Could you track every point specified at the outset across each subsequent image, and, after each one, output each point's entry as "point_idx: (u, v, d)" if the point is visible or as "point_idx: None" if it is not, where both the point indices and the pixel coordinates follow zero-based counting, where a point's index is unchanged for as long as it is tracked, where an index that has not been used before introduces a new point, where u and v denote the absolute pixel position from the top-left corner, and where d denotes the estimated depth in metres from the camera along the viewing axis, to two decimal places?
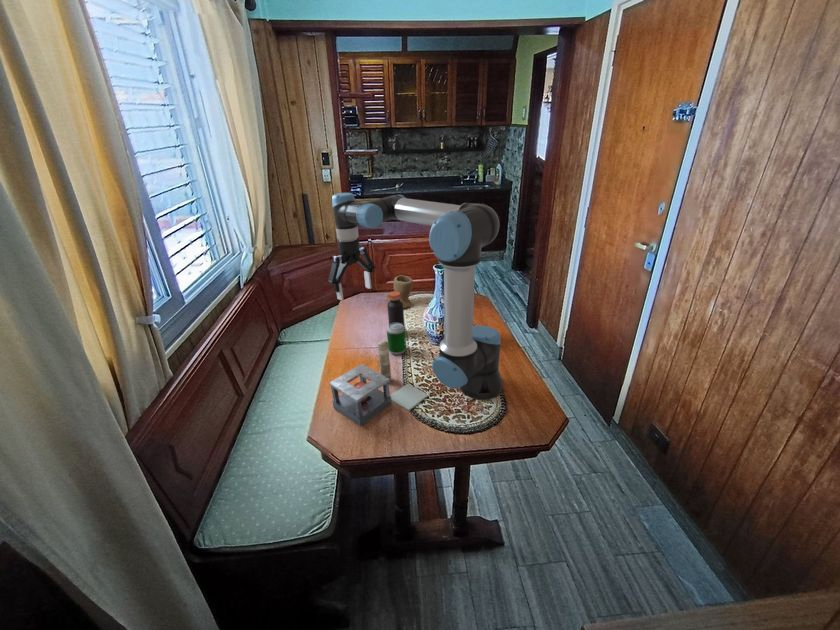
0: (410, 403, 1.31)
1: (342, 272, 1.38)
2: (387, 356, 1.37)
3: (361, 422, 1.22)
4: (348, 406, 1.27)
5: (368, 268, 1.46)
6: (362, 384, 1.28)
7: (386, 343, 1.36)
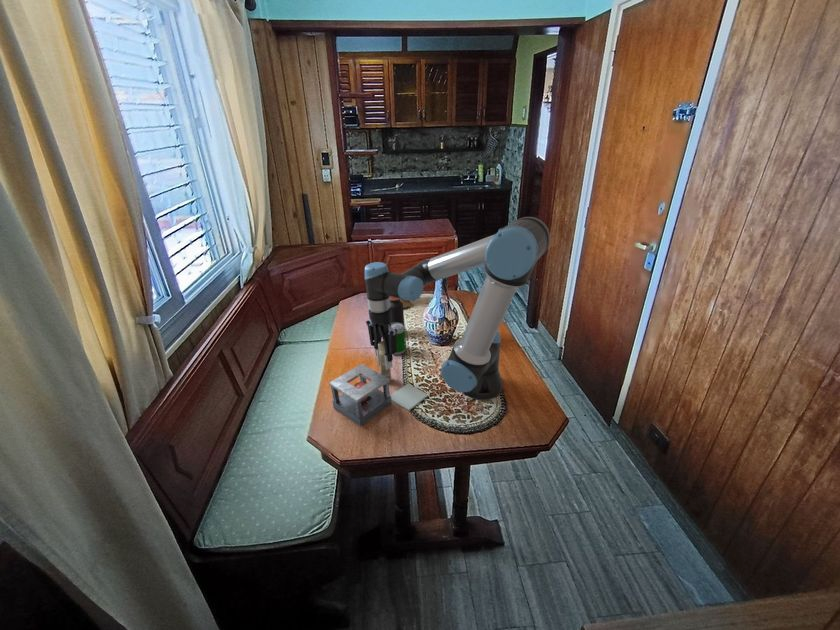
0: (410, 403, 1.31)
1: (375, 338, 1.36)
2: None
3: (361, 422, 1.22)
4: (348, 406, 1.27)
5: (386, 349, 1.34)
6: (362, 384, 1.28)
7: None
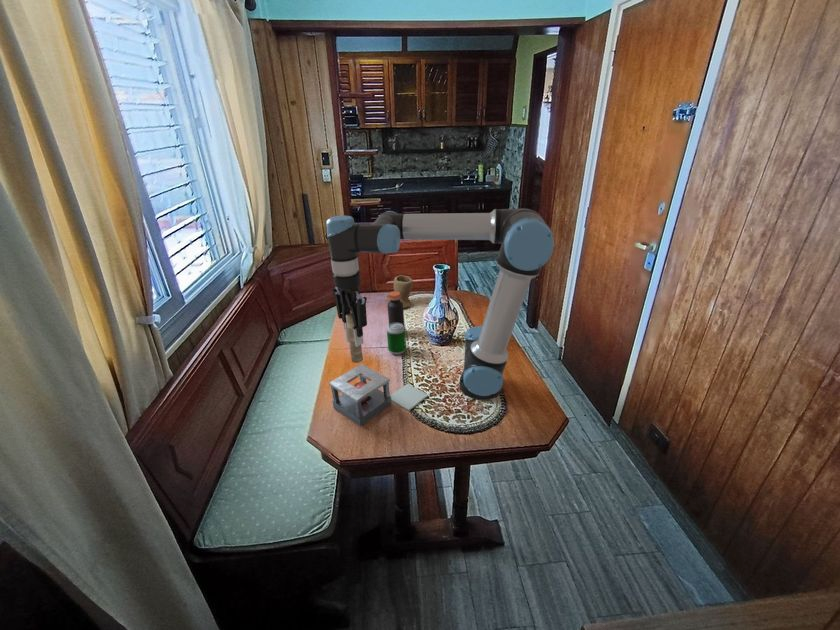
0: (410, 403, 1.31)
1: (342, 309, 1.16)
2: None
3: (361, 422, 1.22)
4: (348, 406, 1.27)
5: (354, 322, 1.14)
6: (362, 384, 1.28)
7: None
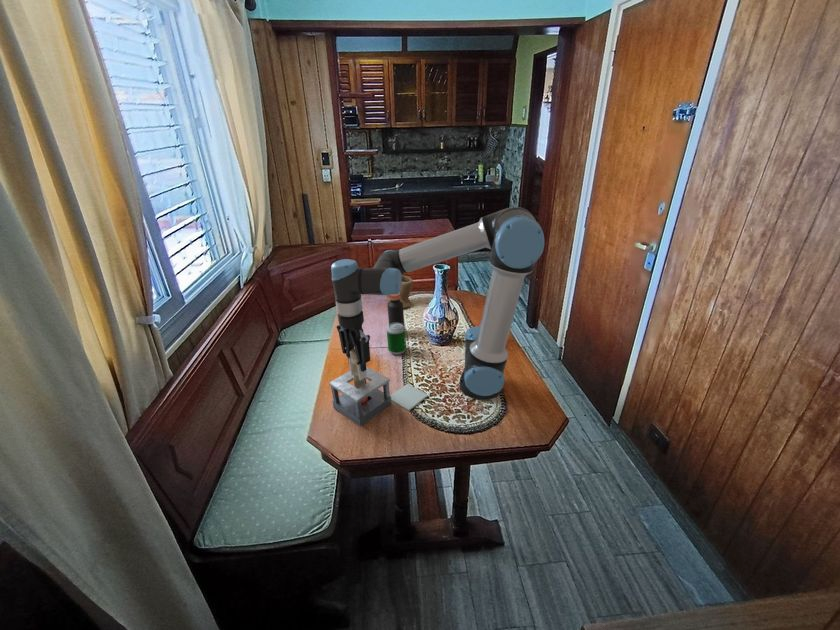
0: (410, 403, 1.31)
1: (347, 345, 1.21)
2: None
3: (361, 422, 1.22)
4: (348, 406, 1.27)
5: (358, 358, 1.19)
6: None
7: None
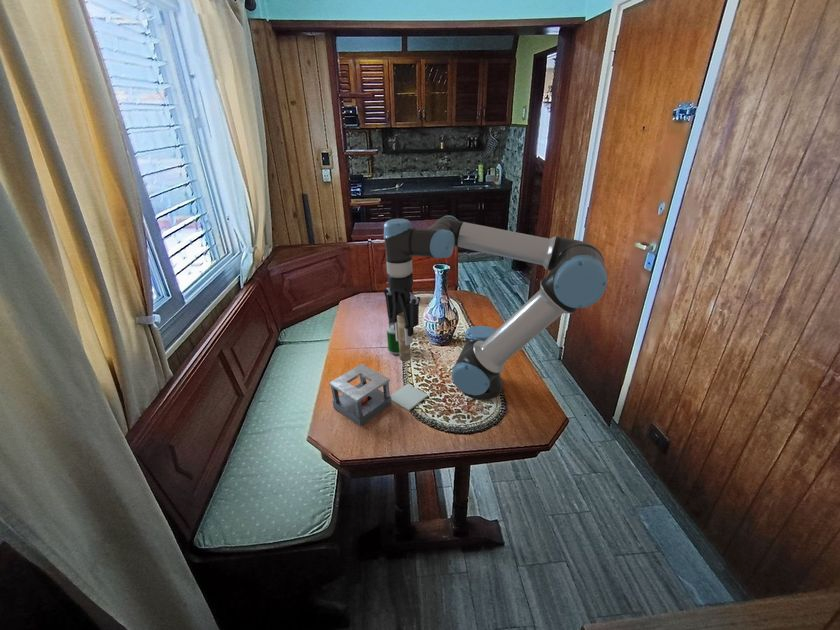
0: (410, 403, 1.31)
1: (394, 309, 1.20)
2: None
3: (361, 422, 1.22)
4: (348, 406, 1.27)
5: (406, 321, 1.18)
6: None
7: None
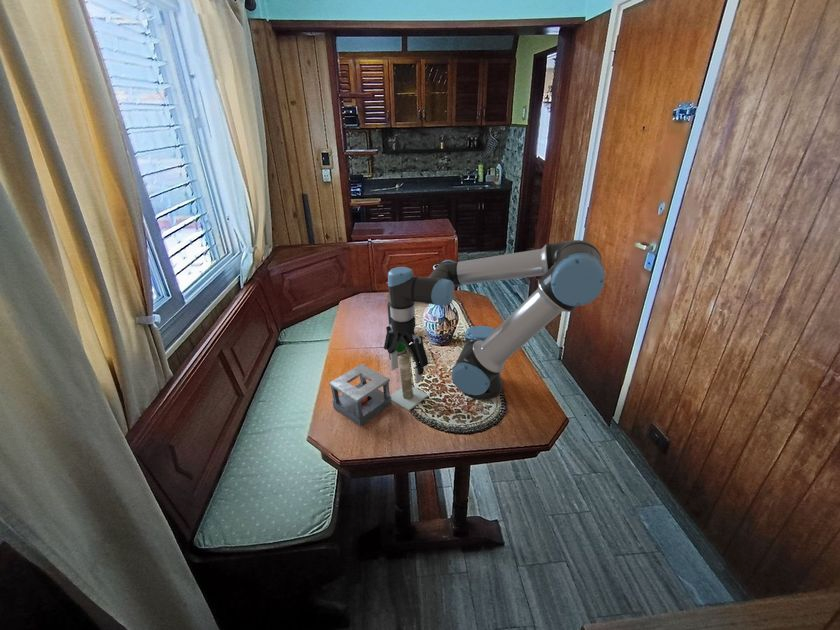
0: (410, 403, 1.31)
1: (392, 344, 1.27)
2: (409, 370, 1.28)
3: (361, 422, 1.22)
4: (348, 406, 1.27)
5: (415, 361, 1.22)
6: None
7: (407, 356, 1.27)
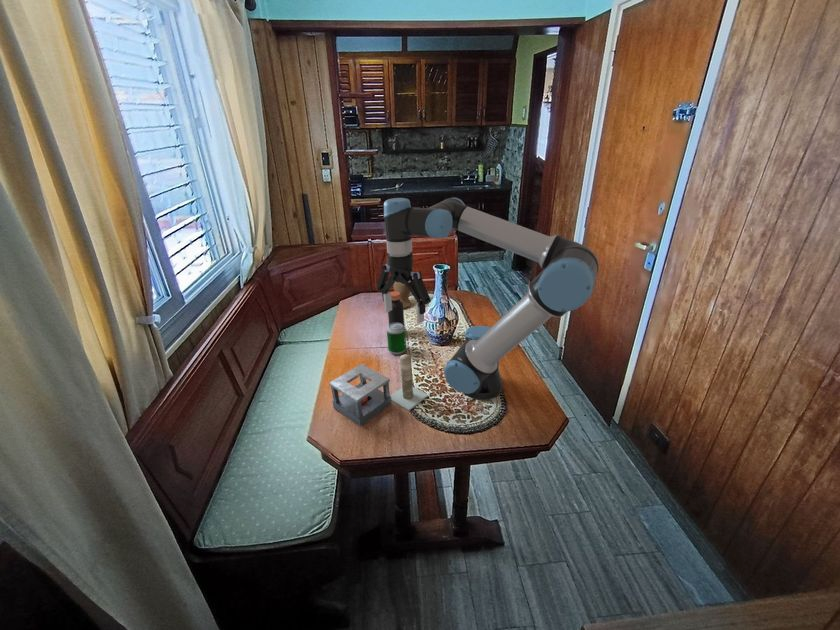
0: (410, 403, 1.31)
1: (387, 284, 1.21)
2: (410, 371, 1.28)
3: (361, 422, 1.22)
4: (348, 406, 1.27)
5: (417, 299, 1.15)
6: None
7: (409, 357, 1.27)
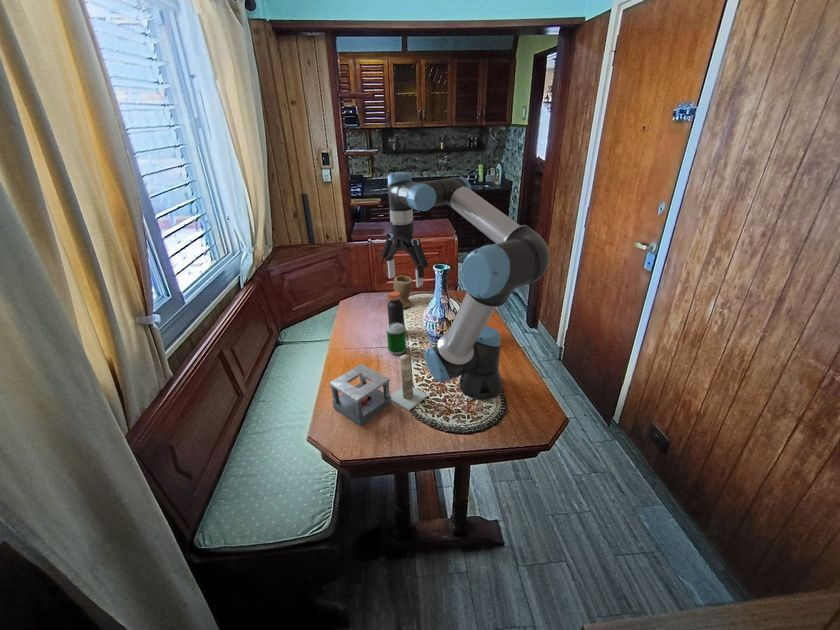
0: (410, 403, 1.31)
1: (390, 251, 1.35)
2: (410, 371, 1.28)
3: (361, 422, 1.22)
4: (348, 406, 1.27)
5: (416, 264, 1.29)
6: None
7: (409, 357, 1.27)
